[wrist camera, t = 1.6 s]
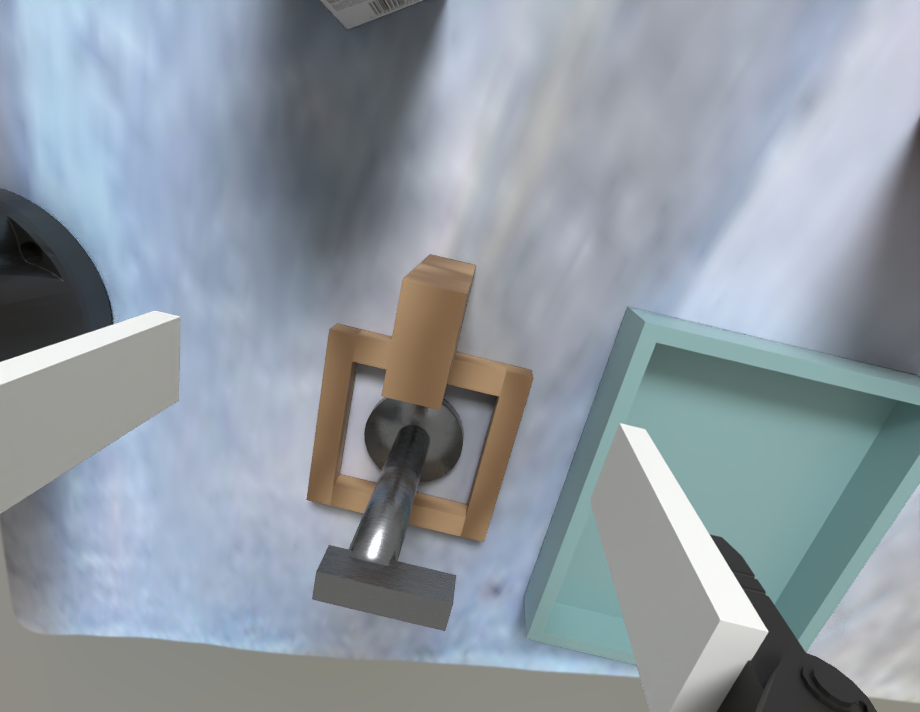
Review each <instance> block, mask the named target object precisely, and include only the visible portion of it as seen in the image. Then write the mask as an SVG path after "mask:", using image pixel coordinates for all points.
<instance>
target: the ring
mask: <svg viewBox="0 0 920 712" xmlns="http://www.w3.org/2000/svg"><path fill="white" fill-rule="evenodd" d="M475 268H476V265H473V264H469V263H465V262H460V261H456V260H452V259H448V258H444V257H439V256H435V255H431V254H430V255H429V256H428V257H427V258H426V259H424V260H423V261H422V262H421V263H420V264H419V265H418V266H417V267H416V268H414V269H413V270H412V271H411V272H410V273H409V274H408V275H407V276H405V277H404V278H403V281H402V286H401V292H400V297H399V303H398V308H397V314H396V319H395V324H394V330H393V335H392V337H391V336H386V335H382V334H378V333H374V332H370V331H366V330H361V329H357V328H353V327H349V326H345V325H340V324H336V325H334V326H333V327H332V328H331V329H329V335H328V343H327V350H326V358H325V365H324V373H323V380H322V388H321V395H320V403H319V410H318V418H317V426H316V433H315V441H314V448H313V456H312V463H311V471H310V478H309V486H308V493H307V500H309V501H313V502H317V503H321V504H326V505H330V506H334V507H338V508H342V509H347V510H351V511H355V512H359V513H363V514H364V512H365V510H366V507H367V505H368V502H369V500H370V498H371V495H372V493H373V491H374V488H375V486H376V483H375V482H371V481H366V480H362V479H358V478H354V477H350V476H345V475H341V474H340V469H341V463H342V456H343V450H344V444H345V438H346V431H347V425H348V419H349V412H350V406H351V400H352V393H353V387H354V381H355V374H356V368H357V363H361V364H365V365H369V366H373V367H377V368H382V369H386V374H385V379H384V385H383V390H382V396H383V397H387V398H391V399H395V400H400V401H404V402H408V403H412V404H416V405H420V406H425V407H429V408H433V409H437V410H440V409H441V405H442V401H443V398H444V394H445V390H446V387H447V384H449V385H453V386H457V387H461V388H465V389H470V390H474V391H478V392H482V393H486V394H491V395H495V396H497V398H496V402H495V405H494V409H493V413H492V416H491V420H490V423H489V427H488V431H487V434H486V438H485V442H484V445H483V449H482V452H481V456H480V460H479V463H478V467H477V470H476V474H475V478H474V481H473V485H472V488H471V492H470V496H469V499H468V503H467V504H463V503H459V502H454V501H450V500H446V499H442V498H438V497H433V496H429V495H425V494H421V493H417V492H416V496H415V499H414V503H413V507H412V510H411V514H410V517H409V521H408V524H410V525H414V526H418V527H422V528H426V529H431V530H435V531H439V532H443V533H447V534H452V535H456V536H460V537H464V538H468V539H472V540H477V541H481V542H484V540H485V537H486V533H487V530H488V527H489V523H490V520H491V517H492V513H493V510H494V507H495V504H496V500H497V497H498V494H499V490H500V487H501V484H502V480H503V477H504V474H505V470H506V467H507V464H508V461H509V457H510V454H511V451H512V447H513V444H514V441H515V437H516V434H517V431H518V427H519V424H520V421H521V418H522V414H523V411H524V408H525V404H526V401H527V398H528V394H529V391H530V388H531V384H532V381H533V374H532V370H529V369H525V368H521V367H516V366H512V365H508V364H504V363H500V362H495V361H491V360H487V359H483V358H479V357H474V356H470V355H466V354H462V353H458V352H456V349H457V345H458V341H459V336H460V332H461V328H462V323H463V319H464V315H465V311H466V306H467V302H468V298H469V294H470V289H471V285H472V281H473V277H474V272H475Z"/></svg>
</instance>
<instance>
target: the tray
mask: <svg viewBox="0 0 920 712" xmlns="http://www.w3.org/2000/svg"><path fill="white" fill-rule="evenodd" d="M619 423H621V424H626V425H630V426H634V427H638V428H642V429H646V431H647V433H648V434H649V436H650V438H651V439H652V441H653V443H654V444H655V446H656V447H657V449H658V451H659V452H660V454H661V456H662V457H663V459H664V461H665V462H666V464H667V466H668V467H669V469H670V471H671V472H672V474H673V475H674V477H675V479H676V480H677V482H678V484H679V485H680V487H681V489H682V490H683V492H684V494H685V495H686V497H687V498H688V500H689V502H690V503H691V505H692V507H693V508H694V510H695V512H696V513H697V515H698V517H699V518H700V520H701V521H702V523H703V525H704V526H705V528H706V530H707V531H708V533H709V534H711V535H715V536H719V537H722V538H723V539H725V540H726V541H727V542H728V543H729V544H730V545H731V546H732V547H733V548H734V549H735V550H736V551H737V552H738V553H739V554H740V555H742V557H743V558H744V560H745V561H746V563H747V564H748V566H749V567H750V569H751V570H752V572H753V573H754V575H755V579H758V581H759V582H760V584H761V585H762V587H763V588H764V590H765V591H766V593H765V594H766V596H769V597H770V599H771V600H772V602H773V603H774V605H775V607H776V608H777V610H778V611H779V613H780V614H781V616H782V617H783V619H784V620H785V622H786V623H787V625H788V626H789V628H790V629H791V631H792V632H793V634H794V635H795V637H796V638H797V640H798V641H799V643H800V644H801V646H802V647H803V649H804V650H805V652H807V650H808V649H809V647H810V646H811V644H812V643H813V641H814V640H815V638H816V637H817V635H818V634H819V632H820V631H821V629H822V628H823V626H824V625H825V624H826V622H827V621H828V619H829V618H830V616H831V615H832V613H833V612H834V610H835V609H836V607H837V606H838V604H839V603H840V601H841V600H842V598H843V597H844V595H845V594H846V592H847V591H848V589H849V588H850V586H851V585H852V583H853V582H854V580H855V579H856V577H857V576H858V574H859V573H860V571H861V570H862V568H863V567H864V565H865V564H866V562H867V561H868V559H869V558H870V556H871V555H872V553H873V552H874V550H875V549H876V547H877V546H878V544H879V543H880V541H881V540H882V538H883V537H884V535H885V534H886V532H887V531H888V530H889V528H890V527H891V525H892V524H893V522H894V521H895V519H896V518H897V516H898V515H899V513H900V512H901V510H902V509H903V507H904V506H905V504H906V503H907V501H908V500H909V498H910V497H911V495H912V494H913V492H914V491H915V489H916V488H917V486H918V485H919V483H920V376H917V375H913V374H909V373H905V372H901V371H896V370H892V369H888V368H884V367H880V366H875V365H871V364H867V363H863V362H859V361H854V360H850V359H846V358H842V357H838V356H834V355H829V354H825V353H821V352H817V351H813V350H808V349H804V348H800V347H796V346H792V345H787V344H783V343H779V342H775V341H771V340H767V339H762V338H758V337H754V336H750V335H746V334H741V333H737V332H733V331H729V330H725V329H720V328H716V327H712V326H708V325H704V324H700V323H695V322H691V321H687V320H683V319H679V318H674V317H670V316H666V315H662V314H658V313H653V312H649V311H645V310H641V309H637V308H633V307H627V310H626V313H625V315H624V318H623V321H622V324H621V327H620V329H619V332H618V335H617V338H616V341H615V343H614V346H613V349H612V352H611V355H610V357H609V360H608V363H607V366H606V369H605V371H604V374H603V377H602V380H601V383H600V385H599V388H598V391H597V394H596V397H595V399H594V402H593V405H592V408H591V411H590V413H589V416H588V419H587V422H586V424H585V427H584V430H583V433H582V436H581V438H580V441H579V444H578V447H577V450H576V452H575V455H574V458H573V461H572V464H571V466H570V469H569V472H568V475H567V478H566V480H565V483H564V486H563V489H562V492H561V494H560V497H559V500H558V503H557V506H556V508H555V511H554V514H553V517H552V520H551V522H550V525H549V528H548V531H547V534H546V536H545V539H544V542H543V545H542V548H541V550H540V553H539V556H538V559H537V561H536V564H535V567H534V570H533V573H532V575H531V578H530V581H529V584H528V587H527V589H526V592H525V595H524V608H525V624H526V639H530V640H534V641H538V642H542V643H546V644H550V645H555V646H559V647H563V648H567V649H571V650H576V651H580V652H584V653H588V654H592V655H597V656H601V657H605V658H609V659H613V660H618V661H622V662H626V663H630V664H634V665H637V664H636V661H635V657H634V654H633V650H632V647H631V643H630V640H629V636H628V633H627V629H626V626H625V622H624V619H623V615H622V612H621V608H620V605H619V601H618V598H617V594H616V591H615V587H614V584H613V580H612V577H611V573H610V570H609V566H608V562H607V559H606V555H605V552H604V548H603V545H602V541H601V538H600V534H599V531H598V527H597V524H596V520H595V517H594V513H593V510H592V506H591V503H590V499H591V496H592V494H593V491H594V488H595V486H596V483H597V481H598V478H599V475H600V473H601V470H602V468H603V465H604V462H605V460H606V457H607V455H608V452H609V449H610V447H611V444H612V442H613V439H614V436H615V434H616V431H617V429H618V426H619Z"/></svg>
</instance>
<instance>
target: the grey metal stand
mask: <svg viewBox="0 0 920 712" xmlns="http://www.w3.org/2000/svg"><path fill="white" fill-rule="evenodd" d="M463 434H464V433H463V426H462V422H461V420H460V417H459V415H458V414H457V412H456V411H455V409H454V408H453V407H452V406H451V405H450V404H449V403H448V402H447V401H446V400H445V399H443V401H442V405H441V409H440V410H437V409H433V408H429V407H425V406H420V405H416V404H412V403H408V402H404V401H400V400H395V399H391V398H387V397H384V398H383V399H382V400H381V401H380V402H379V403H378V404H377V405H376V406H375V408H374V409H373V411H372V413H371V415H370V416H369V418H368V420H367V423H366V427H365V443H366V447H367V450H368V452H369V454H370V456H371V458H372V459H373V461H374V462H375V463H376V464H377V466H378V467H380V468H381V469H382V472H381V474H380V476H379V479H378V481H377V483H376V486H375V488H374V491H373V493H372V495H371V498H370V500H369V502H368V505H367V507H366V510H365V512H364V514H363V517H362V519H361V522H360V524H359V526H358V529H357V531H356V533H355V536H354V538H353V541H352V543H351V545H350V548H349V550H348V549H343V548H339V547H335V546H331V545H329V546H328V548H327V550H326V553H325V555H324V557H323V559H322V561H321V563H320V565H319V567H318V569H317V571H316V577H315V584H314V590H313V597H312V599H313V600H317V601H321V602H325V603H330V604H334V605H338V606H342V607H346V608H351V609H355V610H359V611H363V612H367V613H372V614H376V615H380V616H384V617H388V618H393V619H397V620H401V621H405V622H409V623H414V624H418V625H422V626H426V627H430V628H435V629H439V630H443V631H445V630H446V626H447V623H448V619H449V616H450V612H451V609H452V605H453V598H454V589H455V580H456V575H453V574H448V573H444V572H440V571H436V570H432V569H427V568H423V567H419V566H415V565H411V564H406V563H402V562H398V557H399V554H400V550H401V547H402V543H403V539H404V536H405V532H406V528H407V525H408V521H409V517H410V514H411V510H412V507H413V503H414V499H415V496H416V492H417V488H418V485H419V482H426V481H431V480H434V479H437V478H439V477H441V476H443V475H444V474H446V473H447V472H448V471H450V470H451V469H452V468H453V466H454V465H455V464H456V462H457V461H458V459H459V457H460V454H461V451H462V445H463Z"/></svg>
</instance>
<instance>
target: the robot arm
mask: <svg viewBox="0 0 920 712" xmlns="http://www.w3.org/2000/svg"><path fill="white" fill-rule="evenodd" d="M179 370H180V316H176V315H171V314H167V313H163V312H159V311H152V312H149V313H146V314H143V315H140V316H137V317H134V318H131V319H128V320H125V321H122V322H119V323H116V324H113V325H112V320H111V311H110V305H109V301H108V297H107V294H106V291H105V288H104V285H103V283H102V280H101V278H100V276H99V274H98V272H97V270H96V268H95V266H94V264H93V263H92V261H91V259H90V258H89V256H88V255H87V253H86V252H85V250H84V249H83V248H82V246H81V245H80V244H79V242H78V241H77V240H76V239H75V238H74V236H73V235H72V234H71V233H70V232H69V231H68V230H67V229H66V228H65V227H64V226H63V225H62V224H61V223H60V222H58V221H57V220H56V219H55V218H54V217H53V216H51V215H50V214H49V213H47V212H46V211H45V210H43V209H42V208H40V207H39V206H37V205H36V204H34V203H32V202H31V201H29V200H27V199H25V198H23V197H21V196H19V195H17V194H15V193H12V192H10V191H7V190H4V189H1V188H0V514H1V513H2V512H4V511H6V510H7V509H9V508H10V507H12V506H13V505H15V504H17V503H18V502H20V501H21V500H23V499H25V498H26V497H28V496H29V495H31V494H32V493H34V492H36V491H37V490H39V489H40V488H42V487H43V486H45V485H47V484H48V483H50V482H51V481H53V480H54V479H56V478H58V477H59V476H61V475H62V474H64V473H65V472H67V471H69V470H70V469H72V468H73V467H75V466H76V465H78V464H80V463H81V462H83V461H84V460H86V459H87V458H89V457H91V456H92V455H94V454H95V453H97V452H98V451H100V450H102V449H103V448H105V447H106V446H108V445H109V444H111V443H113V442H114V441H116V440H117V439H119V438H121V437H122V436H124V435H125V434H127V433H128V432H130V431H132V430H133V429H135V428H136V427H138V426H139V425H141V424H143V423H144V422H146V421H147V420H149V419H150V418H152V417H154V416H155V415H157V414H158V413H160V412H161V411H163V410H165V409H166V408H168V407H169V406H171V405H172V404H174V403H176V402H177V401H179ZM590 503H591V506H592V510H593V513H594V517H595V520H596V524H597V527H598V531H599V534H600V538H601V541H602V545H603V548H604V552H605V555H606V559H607V562H608V566H609V570H610V573H611V577H612V580H613V584H614V587H615V591H616V594H617V598H618V601H619V605H620V608H621V612H622V615H623V619H624V622H625V626H626V629H627V633H628V636H629V640H630V643H631V647H632V650H633V654H634V657H635V661H636V664H637V668H638V671H639V675H640V678H641V682H642V685H643V689H644V692H645V696H646V699H647V702H648V706H649V710H650V712H877V711H876V710H875V708H874V706H873V705H872V703H871V702H870V700H869V698H868V697H867V696H866V695H865V694H864V693H863V692H862V691H861V690H860V689H859V688H858V687H857V686H856V685H855V683H854V682H853V681H851V680H850V679H849V678H848V677H846V676H845V675H844V674H843V673H841V672H840V671H839V670H838V669H836V668H835V667H833V666H832V665H830V664H828V663H826V662H825V661H823V660H821V659H819V658H818V657H816V656H813V655H810V654H807V653H806V652H805V650H804V649H803V647H802V646H801V644H800V643H799V641H798V640H797V638H796V637H795V635H794V634H793V632H792V631H791V629H790V628H789V626H788V625H787V623H786V622H785V620H784V619H783V617H782V616H781V614H780V613H779V611H778V610H777V608H776V607H775V605H774V603H773V602H772V600H771V599H770V597H769V596H766V594H765V593H766V591H765V590H764V588H763V587H762V585H761V584H760V582H759V581H758V579H755V575H754V573H753V572H752V570H751V569H750V567H749V566H748V564H747V563H746V561H745V560H744V558H743V557H742V555H740V554H739V553H738V552H737V551H736V550H735V549H734V548H733V547H732V546H731V545H730V544H729V543H728V542H727V541H726V540H725V539H723V538H722V537H719V536H715V535H711V534H709V533H708V531H707V530H706V528H705V526H704V525H703V523H702V521H701V520H700V518H699V517H698V515H697V513H696V512H695V510H694V508H693V507H692V505H691V503H690V502H689V500H688V498H687V497H686V495H685V494H684V492H683V490H682V489H681V487H680V485H679V484H678V482H677V480H676V479H675V477H674V475H673V474H672V472H671V471H670V469H669V467H668V466H667V464H666V462H665V461H664V459H663V457H662V456H661V454H660V452H659V451H658V449H657V447H656V446H655V444H654V443H653V441H652V439H651V438H650V436H649V434H648V433H647V431H646V429H642V428H638V427H634V426H630V425H626V424H621V423H619V426H618V429H617V431H616V434H615V436H614V439H613V442H612V444H611V447H610V449H609V452H608V455H607V457H606V460H605V462H604V465H603V468H602V470H601V473H600V475H599V478H598V481H597V483H596V486H595V488H594V491H593V494H592V496H591V499H590Z"/></svg>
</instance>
